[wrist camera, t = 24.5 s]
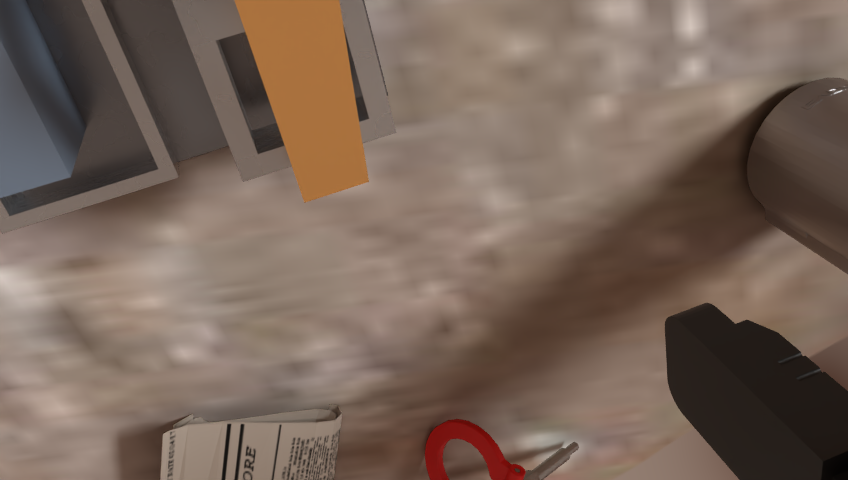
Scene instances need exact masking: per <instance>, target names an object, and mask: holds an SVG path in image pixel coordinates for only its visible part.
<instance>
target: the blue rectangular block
mask: <svg viewBox="0 0 848 480" xmlns="http://www.w3.org/2000/svg"><path fill="white" fill-rule="evenodd" d="M85 131H86V125H85V122H84V120H83V118H82V116H81V114H80V112H79V110H78V108H77V106H76V104H75V102H74V100H73V98H72V95H71V93H70V91H69V89H68V87H67V85H66V83H65V81H64V79H63V77H62V75H61V73H60V71H59V68H58V66H57V64H56V62H55V60H54V58H53V56H52V54H51V52H50V50H49V48H48V46H47V44H46V42H45V39H44V37H43V35H42V33H41V31H40V29H39V27H38V25H37V23H36V21H35V19H34V17H33V15H32V12H31V10H30V8H29V6H28V4H27V2H26V0H0V198H2V197H6V196H9V195H12V194H16V193H19V192H23V191H26V190H29V189H33V188H36V187H39V186H43V185H46V184H49V183H53V182H56V181H59V180H63V179H66V178H69V177H71V175H72V171H73V168H74V165H75V162H76V159H77V156H78V153H79V149H80V146H81V143H82V140H83V137H84V134H85Z"/></svg>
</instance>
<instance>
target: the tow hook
mask: <svg viewBox="0 0 848 480" xmlns="http://www.w3.org/2000/svg"><path fill="white" fill-rule="evenodd" d="M450 439H462V440H465V441H467V442H469V443H471V444H472V445H473V446H474V447H475V448H477V449H478V451H479V452H480V453H481V454H482V456H483V458H484V459H485V461H486V463H487V466H488V469H489V473H490V477H491V479H492V480H543V479H544V478H546V477H547V476H548V475H550V474H551V473H552V472H553V471H555V470H556V469H557V468H558V467H560V466H561V465H562V464H564V463H565V462H566V461H567V460H569V458H570V455H571V454H572V453H574V452H575V451H576V450H578V448H579V446H578V444H577V443H576V442H573V443H571V444H570V445H569V446H567V447H566V448H561V449H560V450H558V451H557V452H556V453H554V454H553V455H552V456H550V457H549V458H548V459H546V460H545V461H544V462H542V463H541V464H540V465H538V466H537V467H536V468H534V469H533V470H532V471H531V470H527V471H525V469H524V468H523V467H521V466H520V465H517V464H510V463H509V462H508V461H507V460H505V458H504V456H503V454H502V452H501V451H500V449H499V447H498V445H497V444H496V443H495V441H494V440H493V439H492V438H491V436H490V435H489V434H488V433H487V432H485V431H484V430H483V429H482V428H480V427H479V426H477V425H475V424H473V423H471V422H469V421H466V420H461V419H454V420H448V421H446V422H444V423H442V424H441V425H439V426H437V427H436V428H435V429H434V430H433V431H432V432H431V433H430V435H429V438H428V440H427V443H426V449H425V460H426V468H427V471H428V474H429V477H430V480H449V478H448V476H447V474H446V472H445V469H444V466H443V458H442V456H443V449H444V447H445V445H446V443H447V442H448V441H449V440H450Z"/></svg>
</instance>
